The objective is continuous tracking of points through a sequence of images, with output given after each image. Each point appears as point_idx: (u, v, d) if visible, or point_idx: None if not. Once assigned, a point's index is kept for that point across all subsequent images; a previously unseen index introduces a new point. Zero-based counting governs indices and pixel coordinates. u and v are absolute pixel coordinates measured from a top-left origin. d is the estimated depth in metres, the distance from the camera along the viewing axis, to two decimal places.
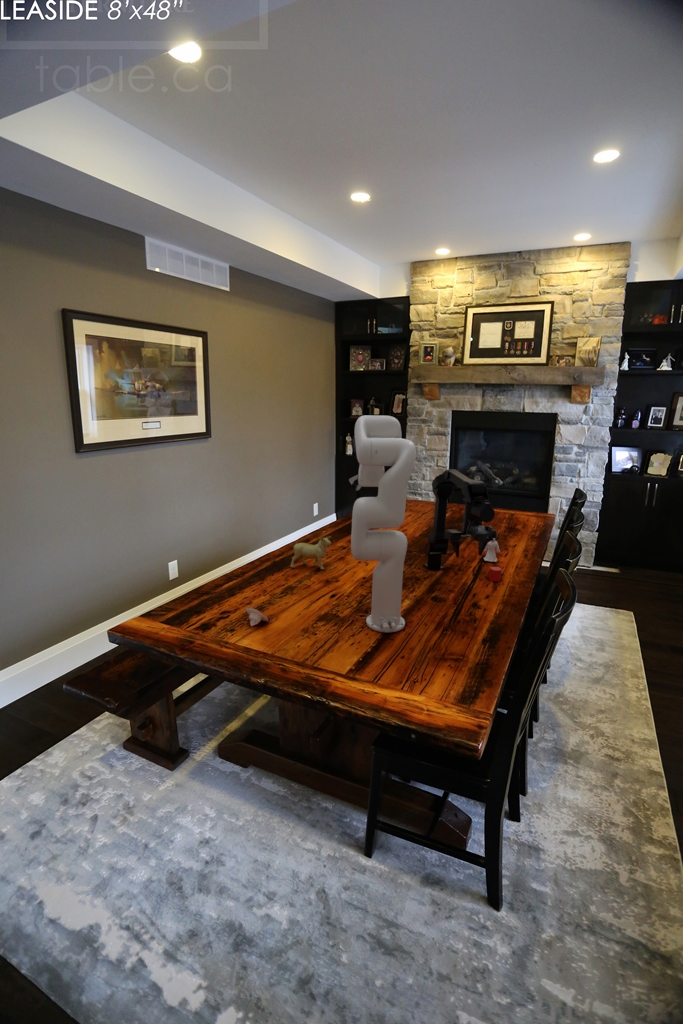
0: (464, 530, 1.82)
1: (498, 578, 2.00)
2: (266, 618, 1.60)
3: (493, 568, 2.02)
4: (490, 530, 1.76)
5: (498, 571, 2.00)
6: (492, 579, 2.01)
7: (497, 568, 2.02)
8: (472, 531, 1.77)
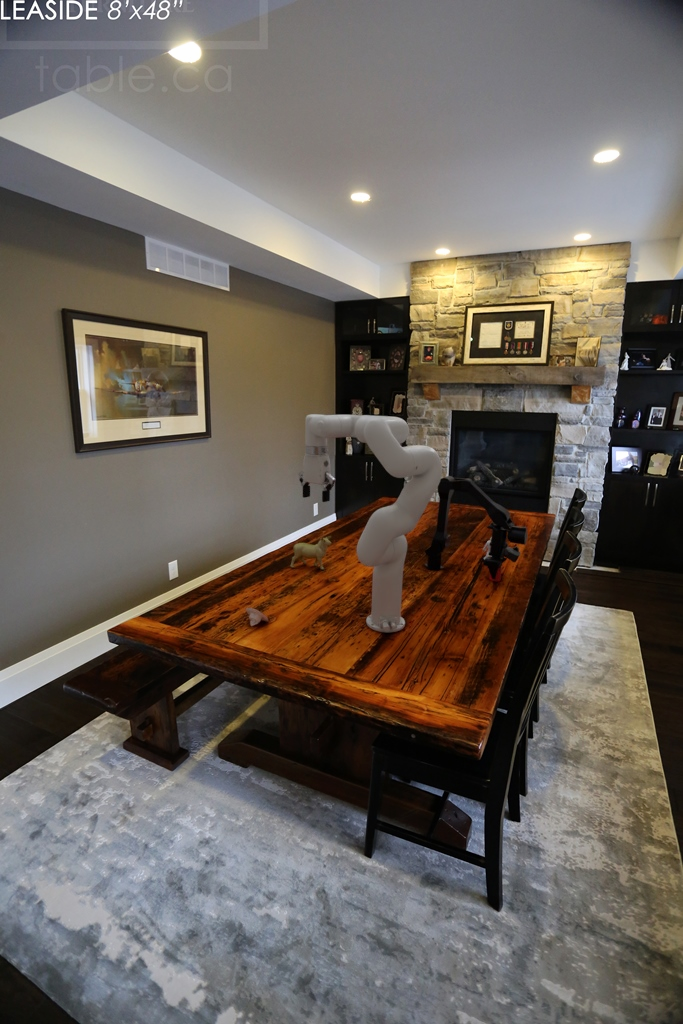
0: (496, 555, 1.98)
1: (498, 578, 2.00)
2: (266, 618, 1.60)
3: None
4: (518, 550, 1.99)
5: (498, 571, 2.00)
6: (492, 579, 2.01)
7: None
8: (510, 554, 1.95)
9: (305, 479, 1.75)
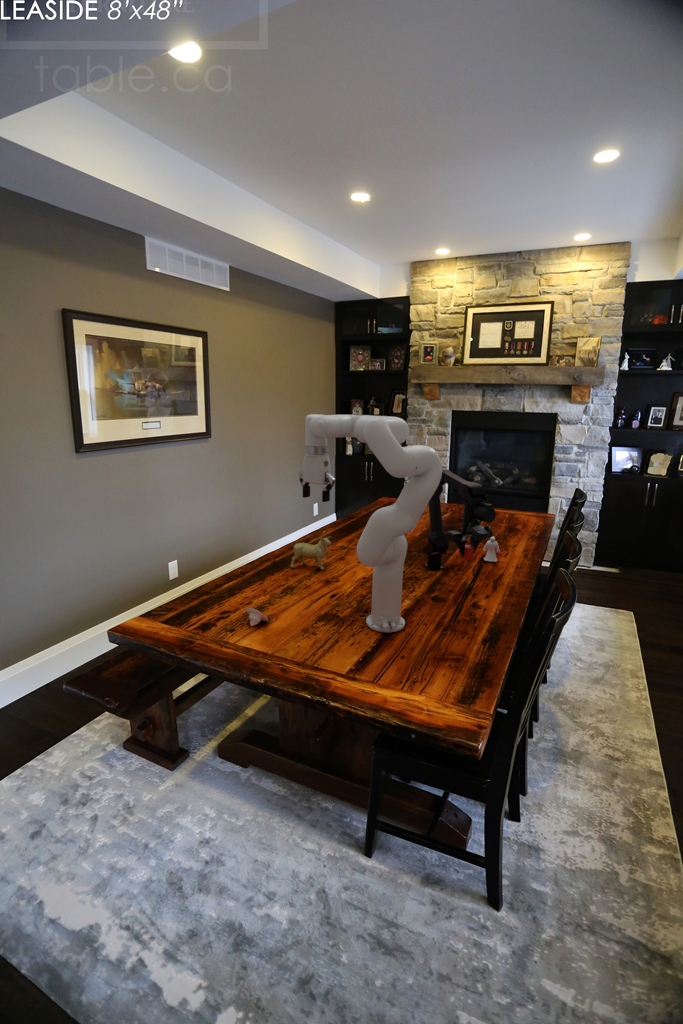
0: (464, 531, 1.91)
1: (467, 556, 1.93)
2: (266, 618, 1.60)
3: (466, 545, 1.94)
4: (489, 530, 1.87)
5: (467, 548, 1.92)
6: (462, 556, 1.94)
7: (470, 546, 1.93)
8: (473, 532, 1.86)
9: (305, 479, 1.75)
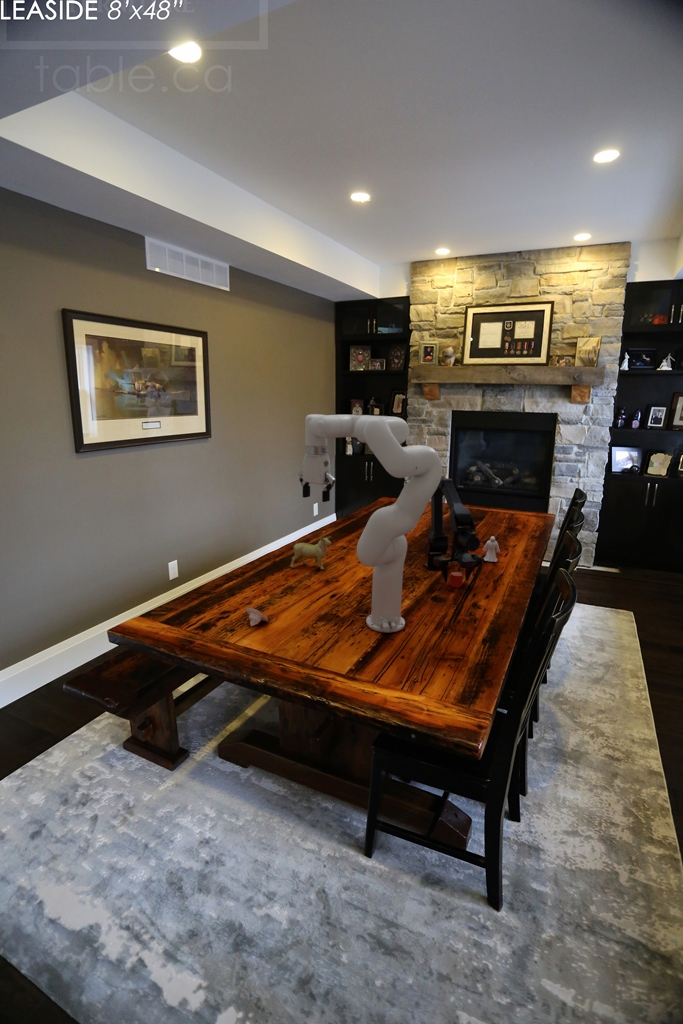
0: (452, 557, 1.92)
1: (454, 584, 1.94)
2: (266, 618, 1.60)
3: (454, 573, 1.96)
4: (476, 558, 1.87)
5: (454, 576, 1.93)
6: (450, 583, 1.96)
7: (458, 574, 1.95)
8: (459, 559, 1.87)
9: (305, 479, 1.75)
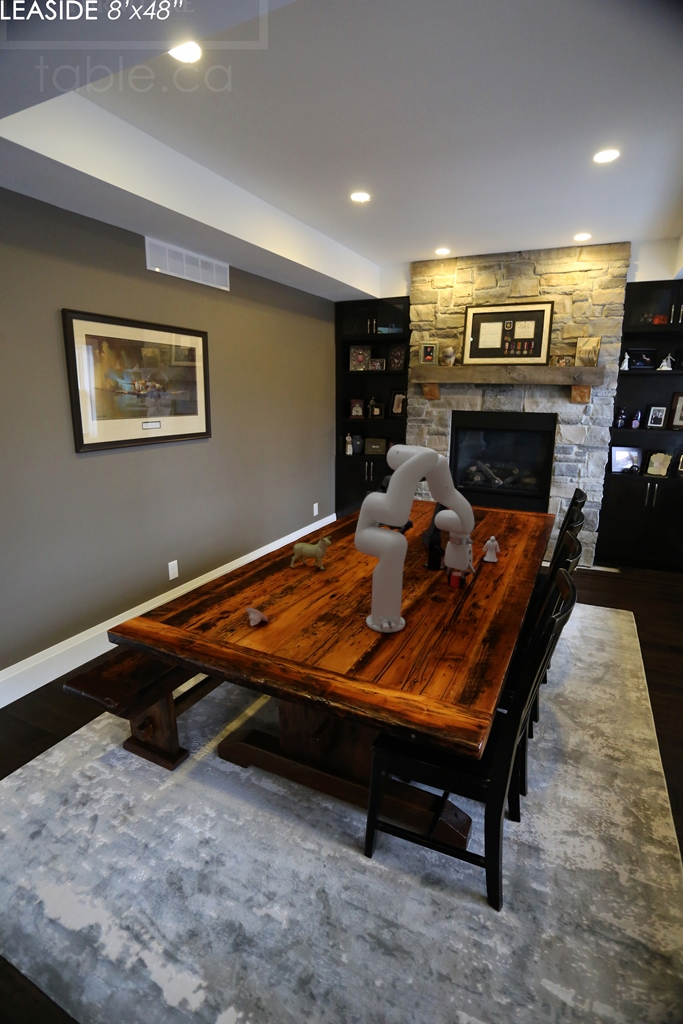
0: None
1: (454, 584, 1.94)
2: (266, 618, 1.60)
3: (454, 573, 1.96)
4: None
5: (454, 576, 1.93)
6: (450, 583, 1.96)
7: (458, 574, 1.95)
8: None
9: (447, 564, 1.95)
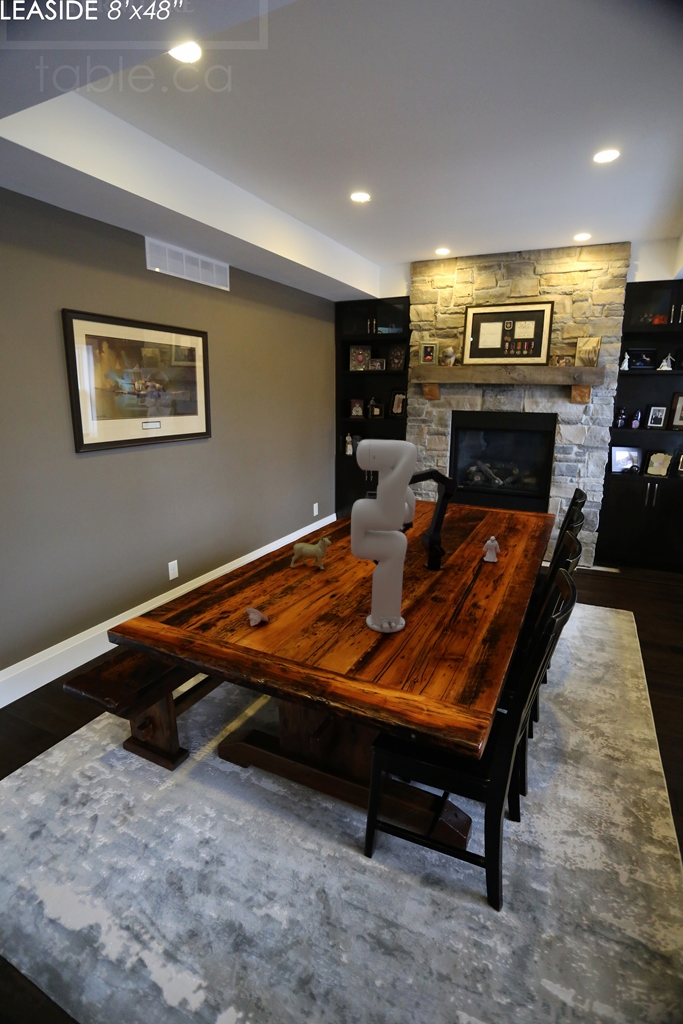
0: None
1: None
2: (266, 618, 1.60)
3: None
4: None
5: None
6: None
7: None
8: None
9: None
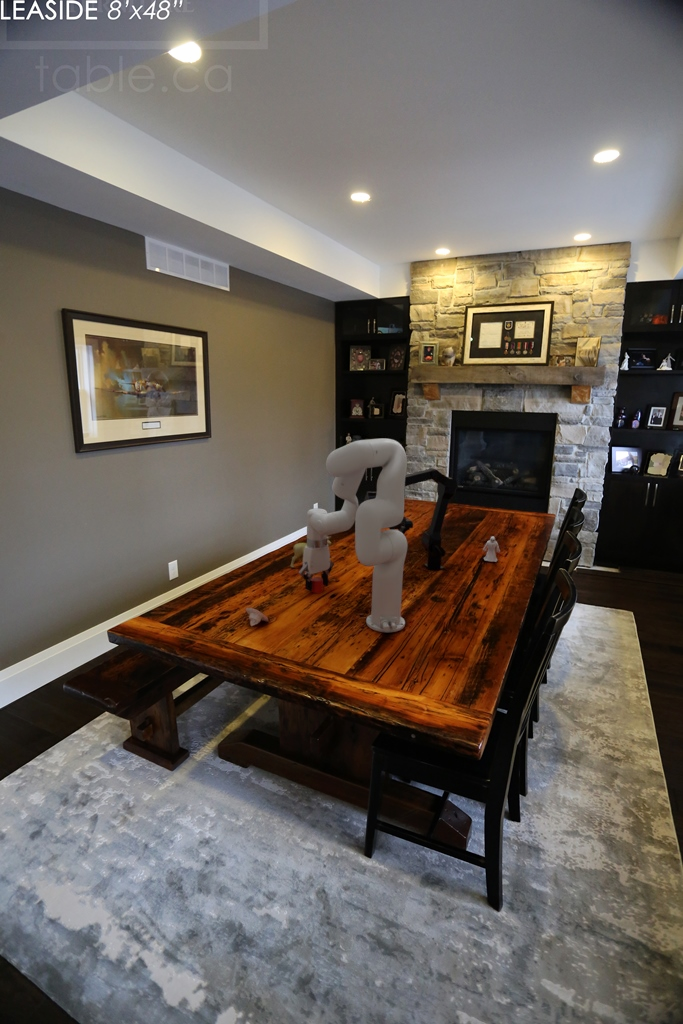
0: None
1: (321, 588, 1.87)
2: (266, 618, 1.60)
3: (314, 579, 1.86)
4: (404, 520, 1.97)
5: (321, 581, 1.86)
6: (316, 591, 1.86)
7: (318, 578, 1.88)
8: None
9: (313, 572, 1.82)
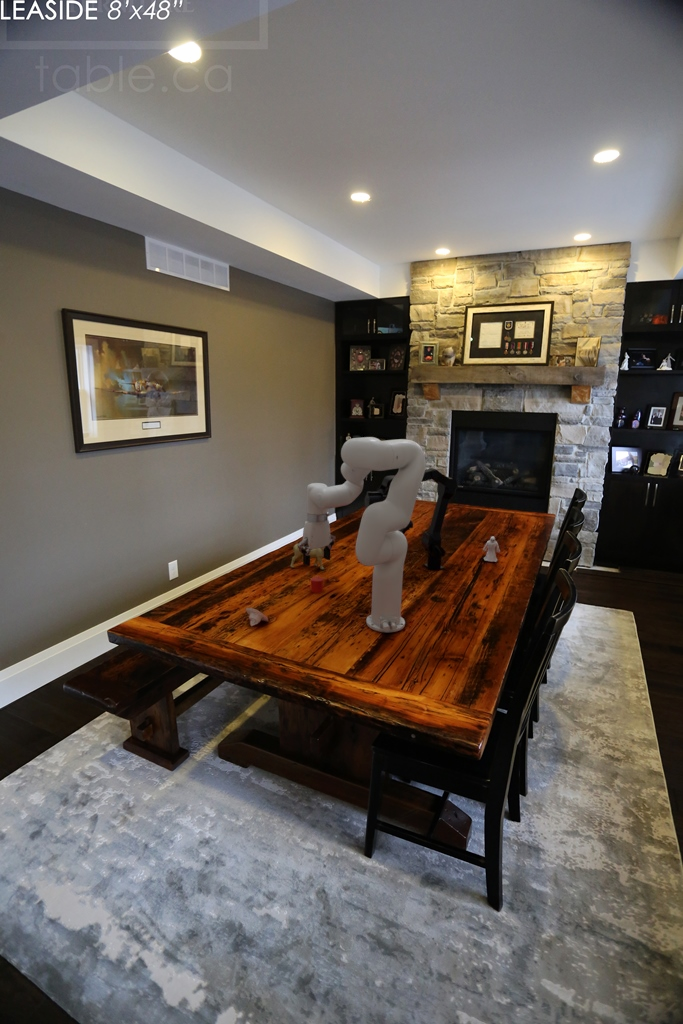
0: None
1: (321, 588, 1.87)
2: (266, 618, 1.60)
3: (314, 579, 1.86)
4: None
5: (321, 581, 1.86)
6: (316, 591, 1.86)
7: (318, 578, 1.88)
8: None
9: (313, 547, 1.80)
